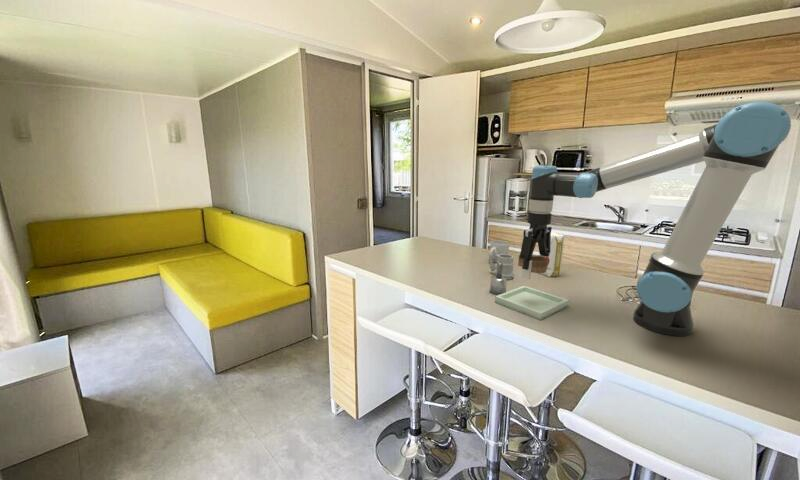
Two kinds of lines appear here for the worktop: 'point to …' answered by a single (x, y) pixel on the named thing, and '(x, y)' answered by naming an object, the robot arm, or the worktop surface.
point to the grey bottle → (498, 282)
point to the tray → (532, 302)
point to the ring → (536, 264)
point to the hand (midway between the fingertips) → (533, 275)
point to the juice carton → (555, 255)
